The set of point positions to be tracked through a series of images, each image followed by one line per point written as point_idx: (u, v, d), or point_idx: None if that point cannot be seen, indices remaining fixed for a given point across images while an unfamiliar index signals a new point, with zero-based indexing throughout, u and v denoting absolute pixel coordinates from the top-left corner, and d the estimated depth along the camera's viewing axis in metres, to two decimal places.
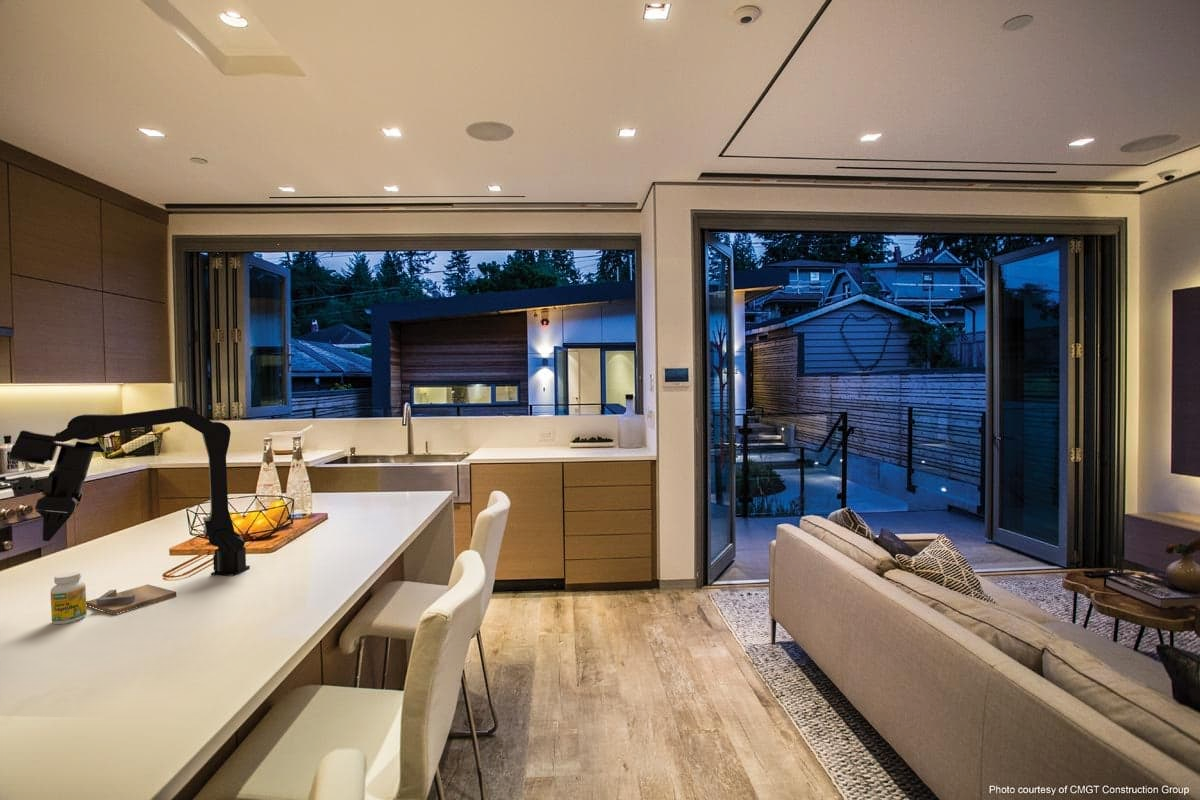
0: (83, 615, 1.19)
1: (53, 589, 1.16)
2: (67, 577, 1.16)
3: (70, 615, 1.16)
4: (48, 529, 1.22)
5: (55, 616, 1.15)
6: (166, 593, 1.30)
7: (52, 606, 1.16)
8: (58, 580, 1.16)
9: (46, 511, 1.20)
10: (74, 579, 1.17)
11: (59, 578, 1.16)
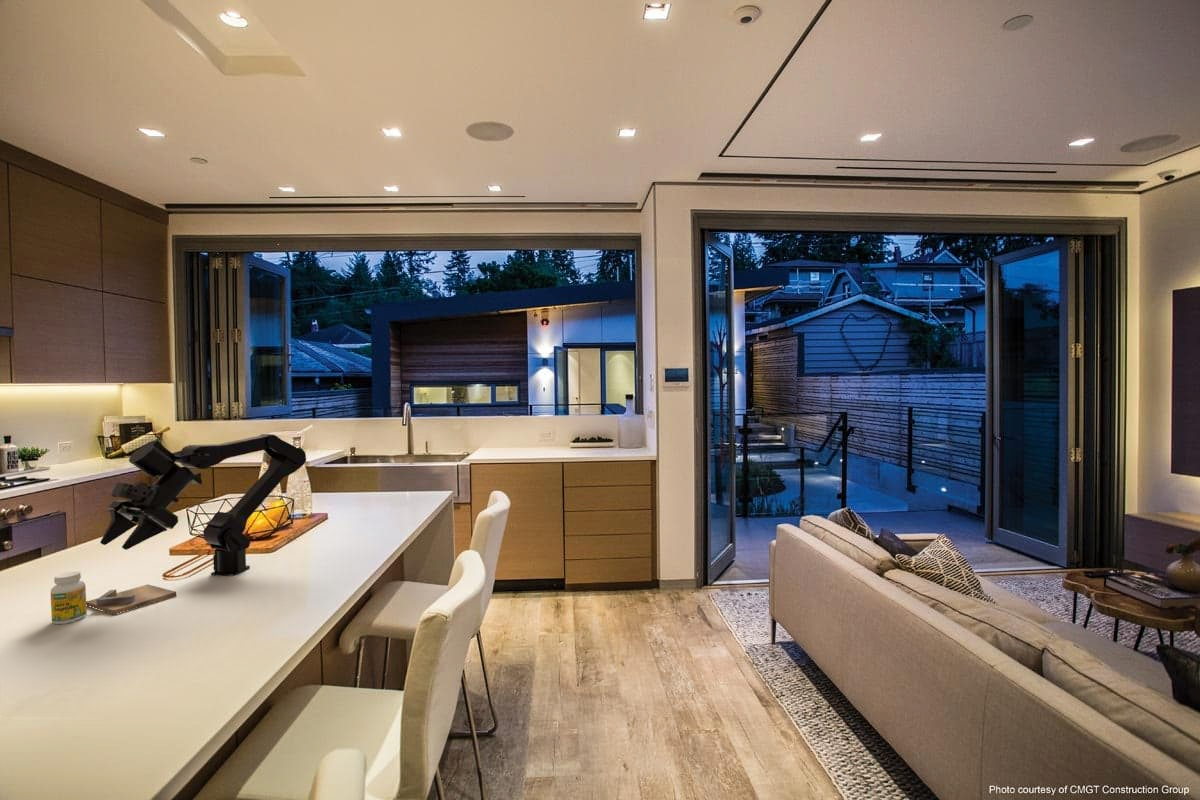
0: (83, 615, 1.19)
1: (53, 589, 1.16)
2: (67, 577, 1.16)
3: (70, 615, 1.16)
4: (135, 538, 1.24)
5: (55, 616, 1.15)
6: (166, 593, 1.30)
7: (52, 606, 1.16)
8: (58, 580, 1.16)
9: (152, 520, 1.25)
10: (74, 579, 1.17)
11: (59, 578, 1.16)
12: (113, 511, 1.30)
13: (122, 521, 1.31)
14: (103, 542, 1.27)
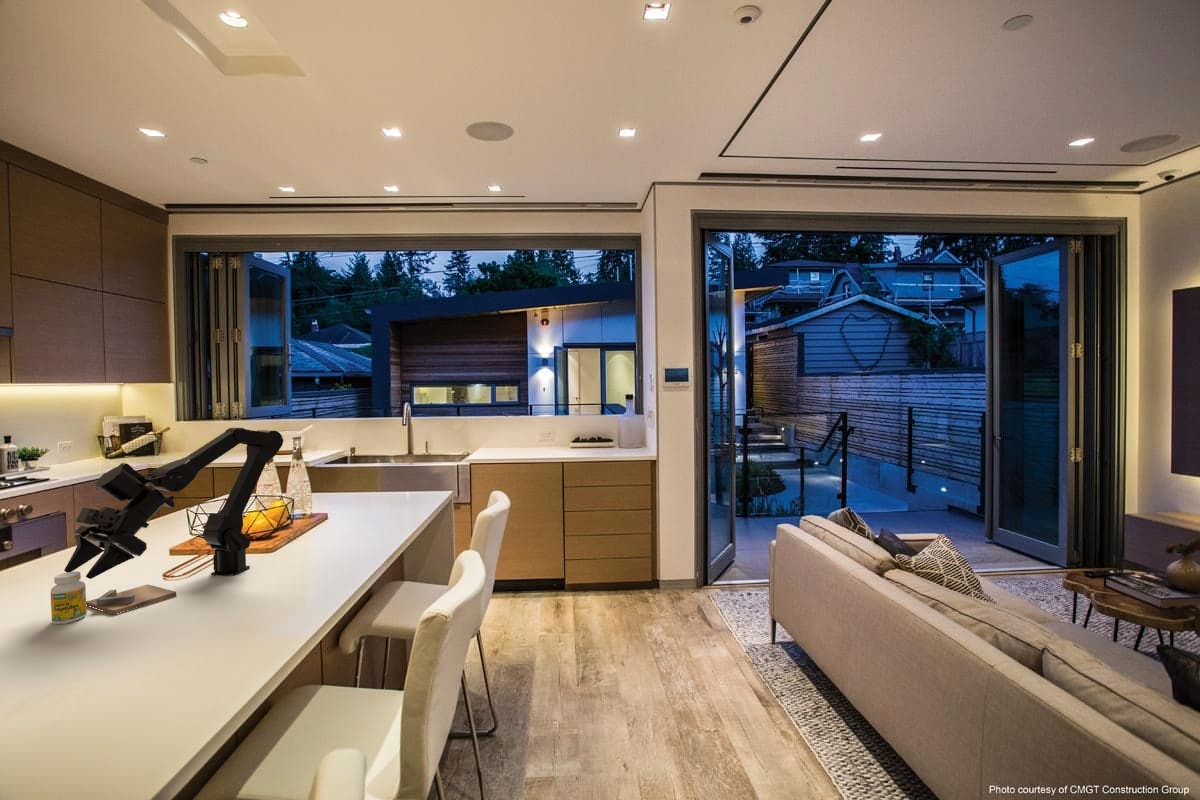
0: (83, 615, 1.19)
1: (53, 589, 1.16)
2: (67, 577, 1.16)
3: (70, 615, 1.16)
4: (100, 566, 1.18)
5: (55, 616, 1.15)
6: (166, 593, 1.30)
7: (52, 606, 1.16)
8: (58, 580, 1.16)
9: (118, 547, 1.19)
10: (74, 579, 1.17)
11: (59, 578, 1.16)
12: (79, 537, 1.24)
13: (88, 547, 1.25)
14: (67, 570, 1.21)
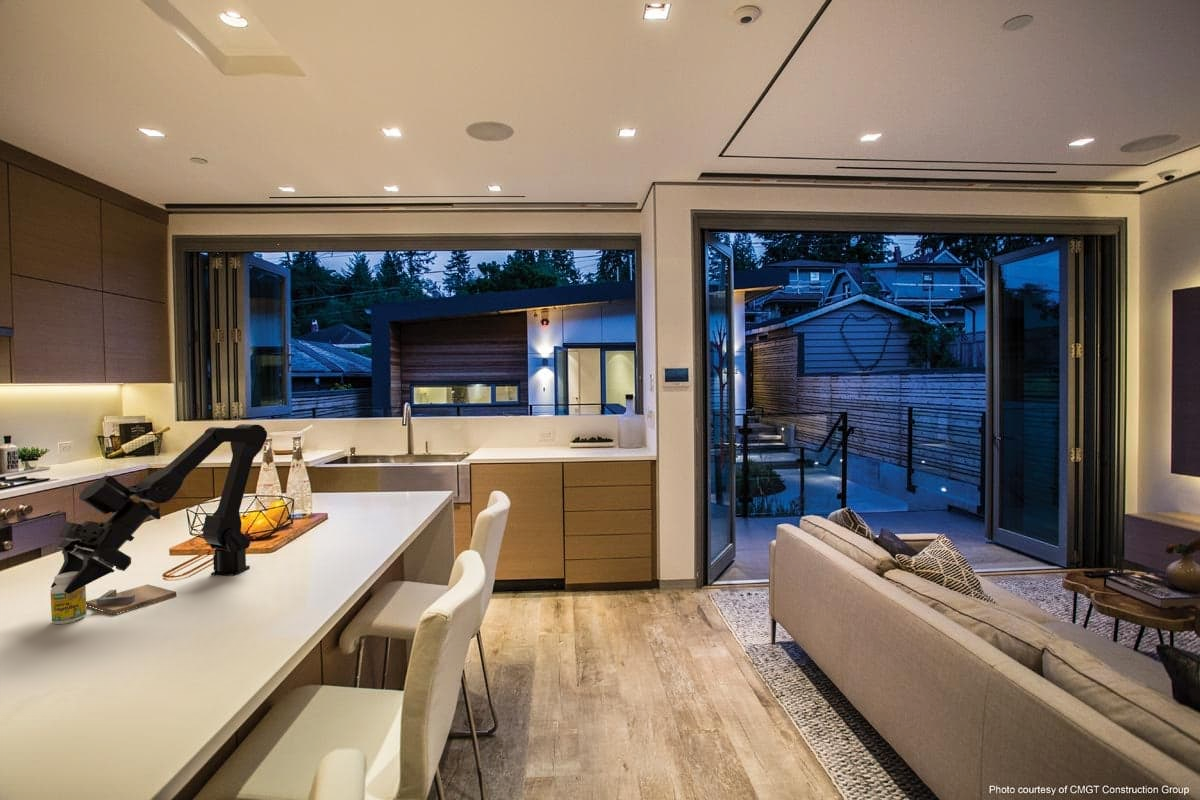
0: (83, 615, 1.19)
1: (53, 589, 1.16)
2: (67, 577, 1.16)
3: (70, 615, 1.16)
4: (79, 581, 1.17)
5: (55, 616, 1.15)
6: (166, 593, 1.30)
7: (52, 606, 1.16)
8: (58, 580, 1.16)
9: (98, 561, 1.18)
10: None
11: (59, 578, 1.16)
12: (66, 552, 1.21)
13: (76, 563, 1.22)
14: None
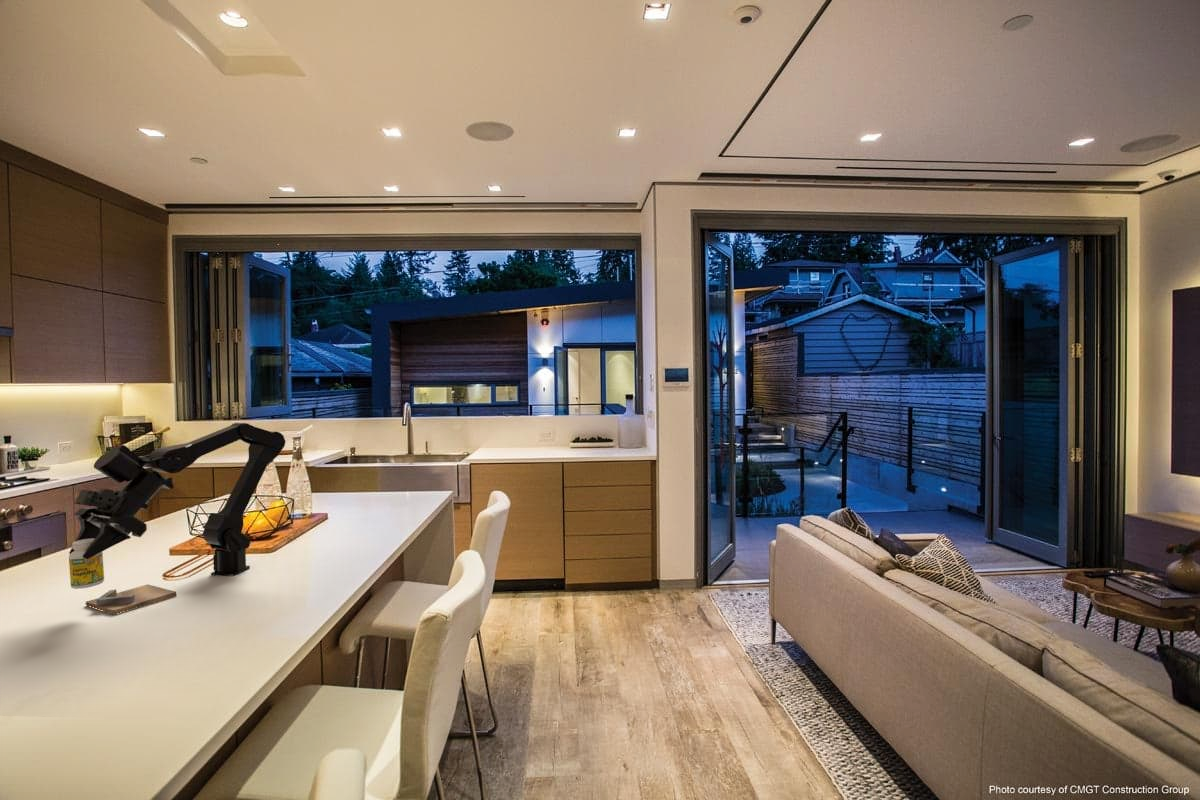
0: (101, 580, 1.21)
1: (71, 555, 1.18)
2: (85, 543, 1.19)
3: (89, 580, 1.19)
4: (97, 546, 1.19)
5: (74, 581, 1.18)
6: (166, 593, 1.30)
7: (71, 571, 1.18)
8: (76, 546, 1.18)
9: (114, 527, 1.20)
10: None
11: (77, 544, 1.19)
12: (83, 520, 1.23)
13: (92, 530, 1.24)
14: None
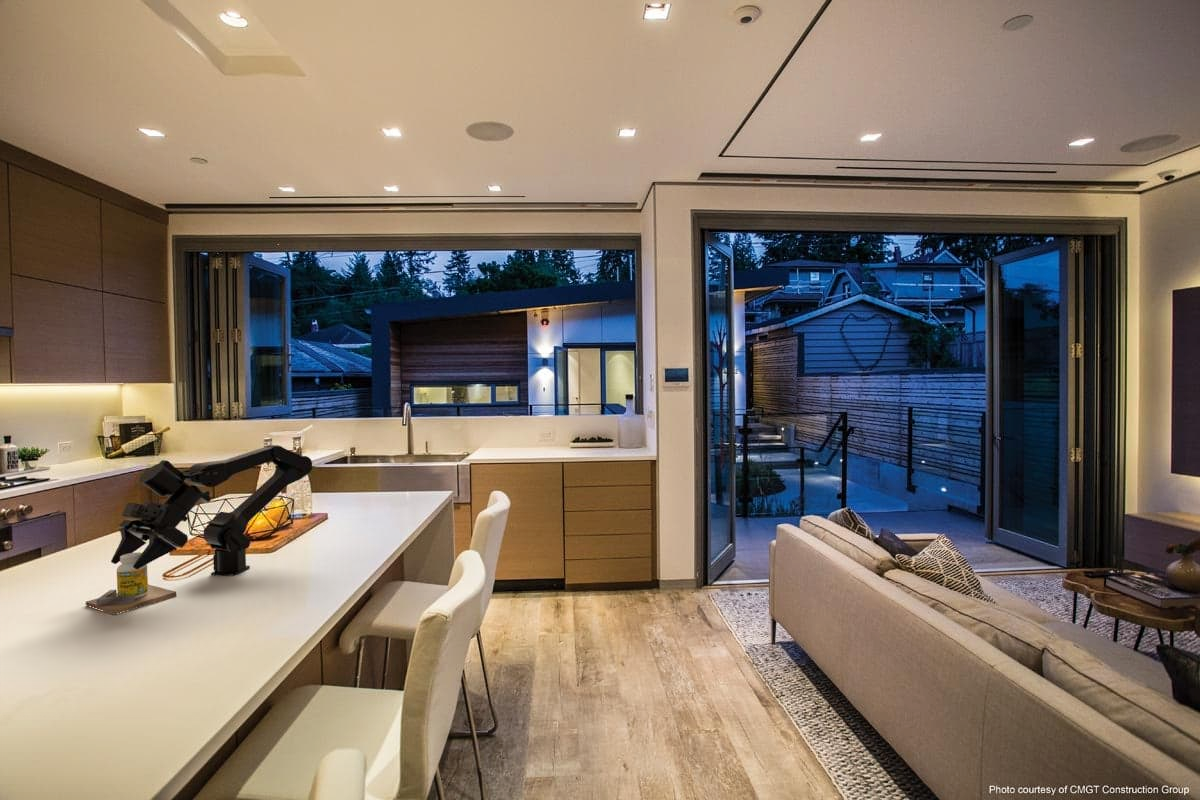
0: (145, 592, 1.29)
1: (119, 568, 1.26)
2: (132, 557, 1.27)
3: (135, 592, 1.26)
4: (146, 557, 1.26)
5: (122, 593, 1.26)
6: (166, 593, 1.30)
7: (118, 583, 1.26)
8: (124, 560, 1.26)
9: (162, 539, 1.27)
10: None
11: (125, 558, 1.26)
12: (123, 530, 1.31)
13: (132, 540, 1.32)
14: (114, 561, 1.29)
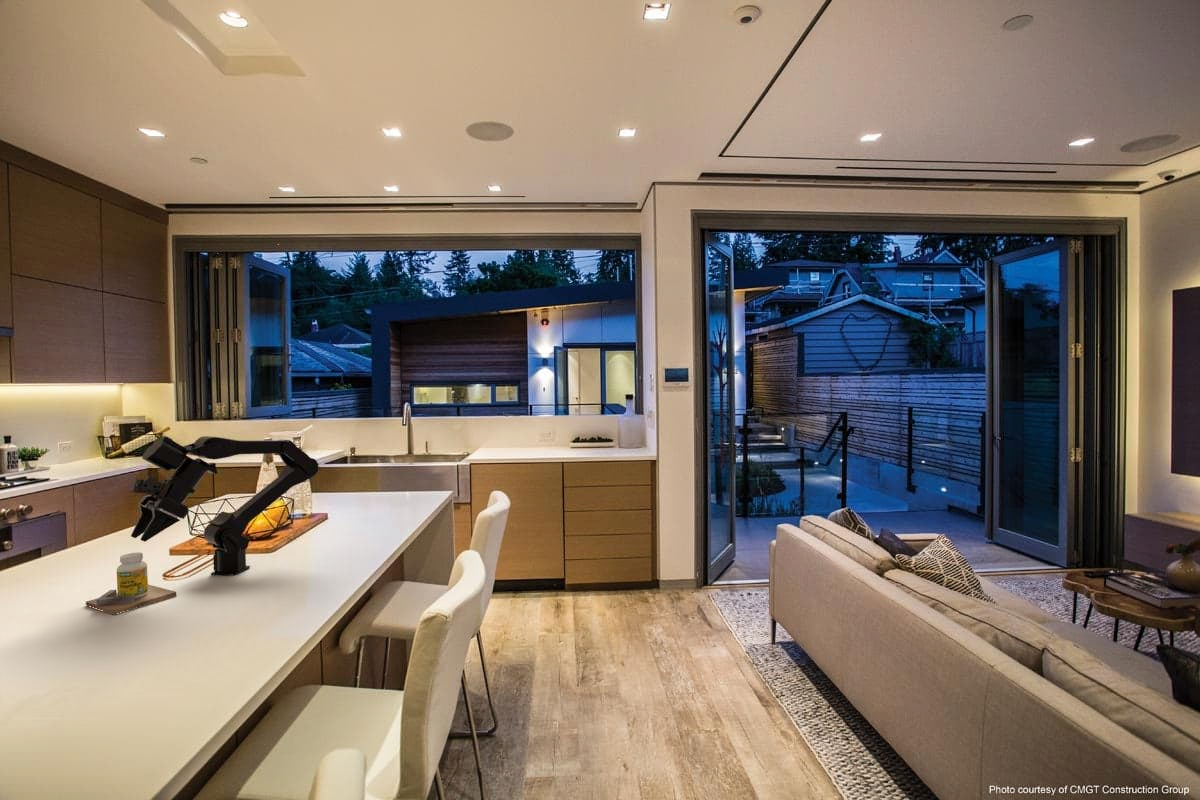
0: (145, 592, 1.29)
1: (119, 568, 1.26)
2: (132, 557, 1.27)
3: (135, 592, 1.26)
4: (151, 530, 1.29)
5: (122, 593, 1.26)
6: (166, 593, 1.30)
7: (118, 583, 1.26)
8: (124, 560, 1.26)
9: (162, 512, 1.29)
10: (137, 559, 1.27)
11: (125, 558, 1.26)
12: (140, 506, 1.37)
13: (149, 515, 1.37)
14: (133, 535, 1.34)
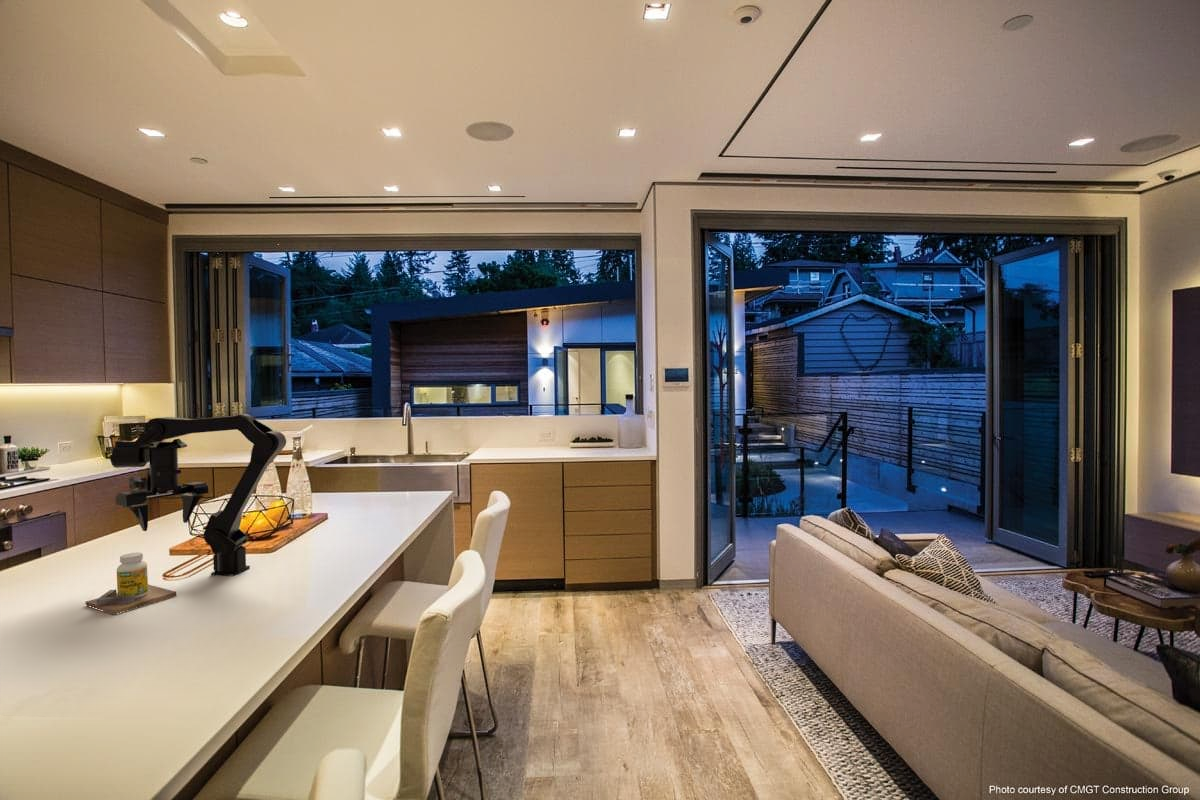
0: (145, 592, 1.29)
1: (119, 568, 1.26)
2: (132, 557, 1.27)
3: (135, 592, 1.26)
4: (139, 521, 1.39)
5: (122, 593, 1.26)
6: (166, 593, 1.30)
7: (118, 583, 1.26)
8: (124, 560, 1.26)
9: (125, 505, 1.37)
10: (137, 559, 1.27)
11: (125, 558, 1.26)
12: None
13: (186, 500, 1.49)
14: (184, 521, 1.48)
